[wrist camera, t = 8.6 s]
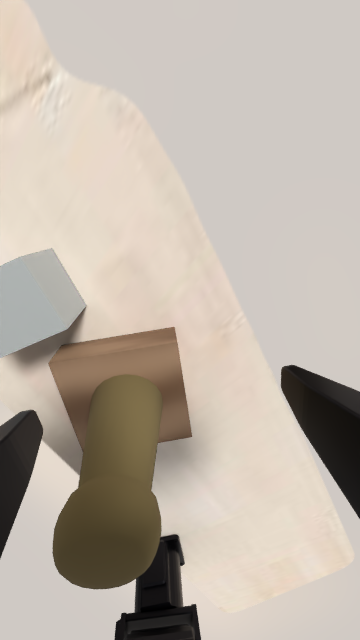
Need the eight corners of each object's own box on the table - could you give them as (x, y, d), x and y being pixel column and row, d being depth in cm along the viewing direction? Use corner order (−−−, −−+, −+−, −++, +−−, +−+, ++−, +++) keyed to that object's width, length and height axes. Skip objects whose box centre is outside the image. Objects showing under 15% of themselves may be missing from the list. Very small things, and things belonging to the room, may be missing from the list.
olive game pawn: (106, 439, 22) (67, 621, 12) (78, 386, 20) (1, 556, 10) (171, 420, 22) (186, 588, 12) (150, 365, 20) (147, 515, 10)
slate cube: (86, 304, 21) (67, 329, 16) (33, 328, 21) (0, 357, 17) (52, 248, 19) (19, 256, 14) (-6, 274, 19) (-56, 291, 15)
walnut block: (187, 413, 26) (192, 436, 23) (92, 430, 26) (84, 456, 23) (174, 326, 22) (177, 342, 19) (61, 345, 22) (48, 363, 19)
